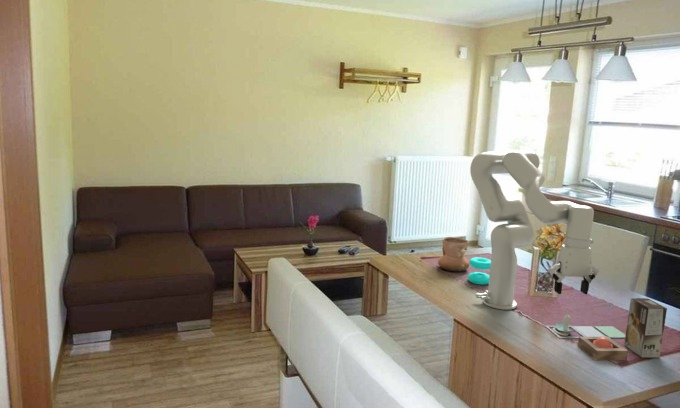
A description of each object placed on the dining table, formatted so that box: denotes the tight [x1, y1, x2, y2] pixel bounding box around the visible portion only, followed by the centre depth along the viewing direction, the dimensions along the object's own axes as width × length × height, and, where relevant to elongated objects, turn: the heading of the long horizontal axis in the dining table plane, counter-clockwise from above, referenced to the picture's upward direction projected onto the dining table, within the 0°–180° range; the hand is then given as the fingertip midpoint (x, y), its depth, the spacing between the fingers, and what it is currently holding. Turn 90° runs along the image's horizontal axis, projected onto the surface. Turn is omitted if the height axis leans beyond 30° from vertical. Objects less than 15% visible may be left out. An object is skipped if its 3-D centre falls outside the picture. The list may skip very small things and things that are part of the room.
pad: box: [593, 325, 626, 339], centre depth 177 cm, size 7×9×1 cm
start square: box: [545, 325, 586, 340], centre depth 175 cm, size 10×10×1 cm
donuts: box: [467, 256, 491, 286], centre depth 225 cm, size 10×10×10 cm
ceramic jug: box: [437, 236, 471, 272], centre depth 243 cm, size 18×14×14 cm
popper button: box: [593, 337, 613, 348], centre depth 161 cm, size 6×6×4 cm
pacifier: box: [551, 314, 576, 337], centre depth 175 cm, size 7×6×6 cm
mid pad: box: [572, 325, 607, 337], centre depth 176 cm, size 7×9×1 cm
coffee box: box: [623, 297, 668, 358], centre depth 162 cm, size 9×6×16 cm
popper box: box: [577, 336, 629, 361], centre depth 161 cm, size 10×10×3 cm
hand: (570, 292), depth 173 cm, fingers open, 8 cm apart
